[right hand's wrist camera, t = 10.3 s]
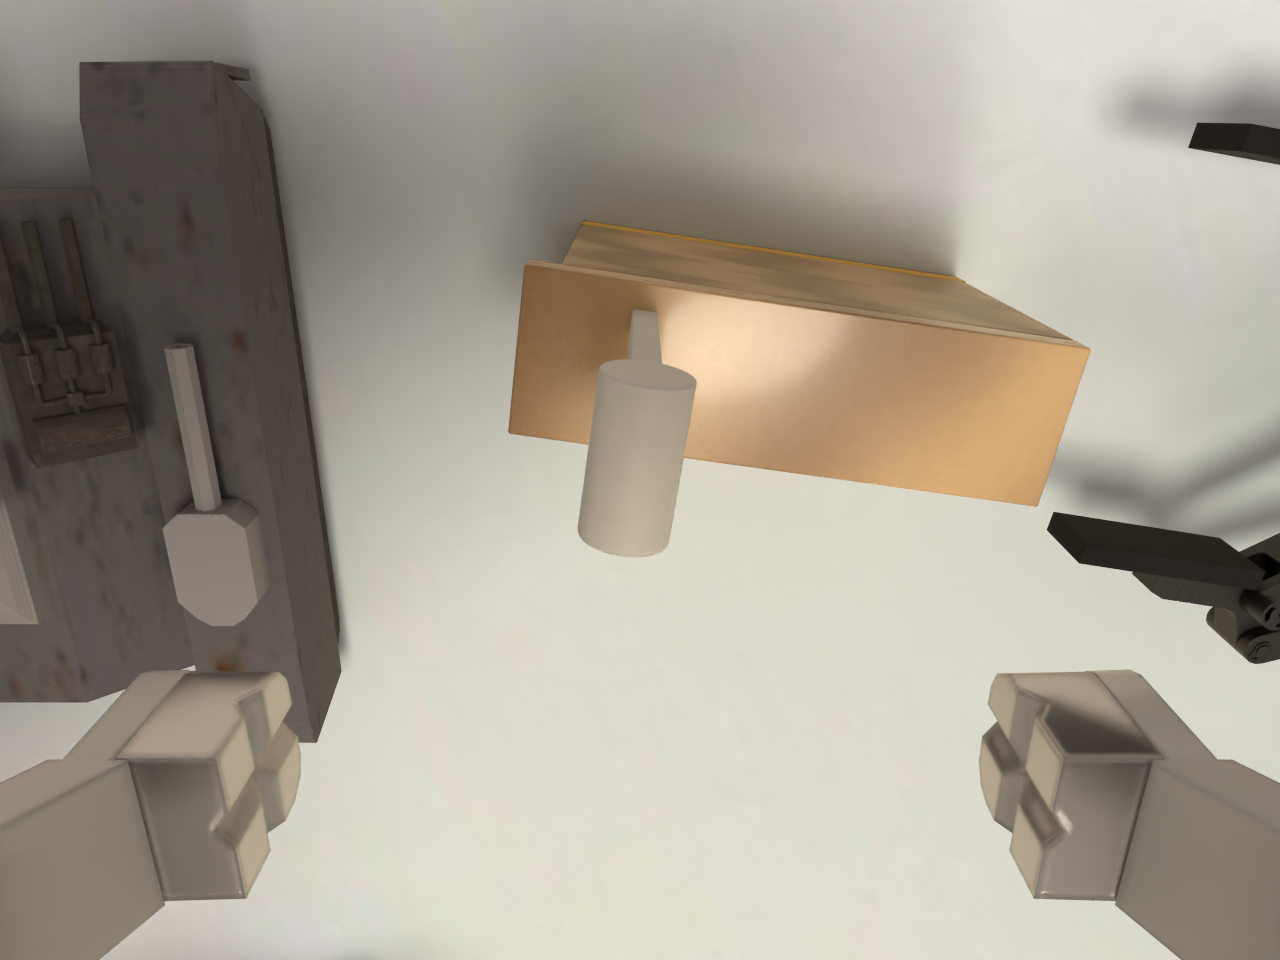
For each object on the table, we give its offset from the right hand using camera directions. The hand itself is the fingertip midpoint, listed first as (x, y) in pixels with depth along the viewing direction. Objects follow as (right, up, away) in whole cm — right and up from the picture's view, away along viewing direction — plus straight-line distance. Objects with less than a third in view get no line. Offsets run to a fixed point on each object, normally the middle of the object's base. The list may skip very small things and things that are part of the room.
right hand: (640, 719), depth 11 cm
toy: (-23, +6, +27) cm, 36 cm away
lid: (+4, +6, +15) cm, 17 cm away
